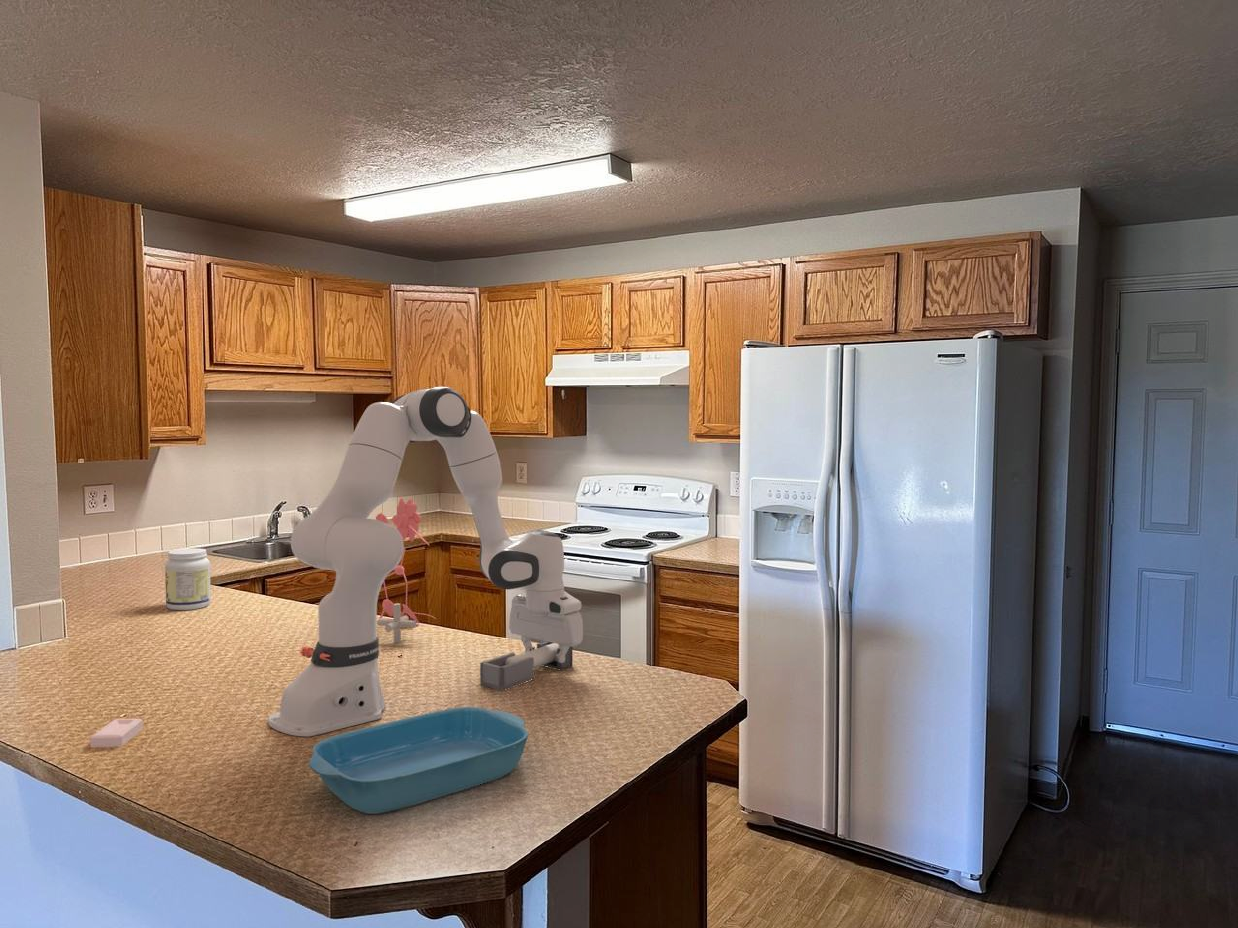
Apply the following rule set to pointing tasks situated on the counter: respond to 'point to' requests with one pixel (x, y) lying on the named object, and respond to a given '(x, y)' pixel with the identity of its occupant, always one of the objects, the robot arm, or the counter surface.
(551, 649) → the slip tube
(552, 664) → the socket
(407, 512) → the figurine
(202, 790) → the counter surface
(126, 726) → the soap bar
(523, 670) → the sleeve
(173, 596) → the supplement tub
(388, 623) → the pipe connector
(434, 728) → the casserole dish
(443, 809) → the counter surface
